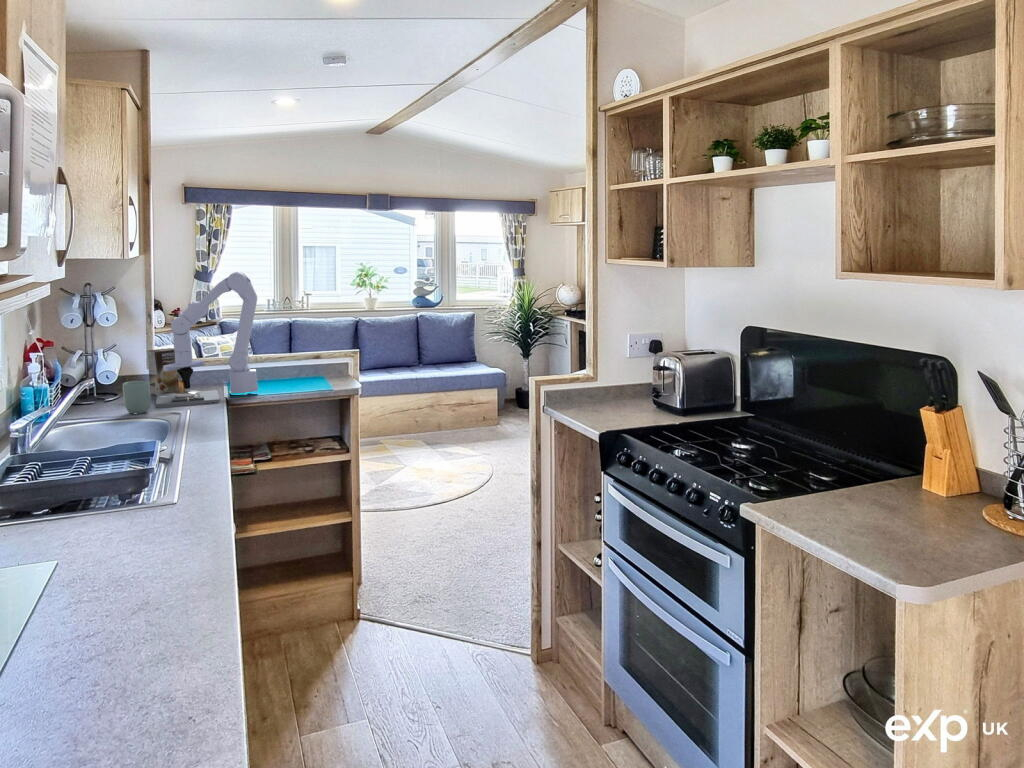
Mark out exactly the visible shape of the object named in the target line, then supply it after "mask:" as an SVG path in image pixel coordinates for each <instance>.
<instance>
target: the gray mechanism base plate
mask: <svg viewBox="0 0 1024 768" xmlns="http://www.w3.org/2000/svg"><path fill="white" fill-rule="evenodd" d="M199 391H200V390H199ZM211 402H220V403H221V399H220V396H219V392H218V389H214V390H213V389H212V390H201V391H200V396H198V395H194V397H192V398H176V397H175V393H171V394H157V395H156V401H155V408H156V409H158V408H159V409H160V408H170V407H182V406H195V405H196V406H197V405H206V404H205V403H209V404H212V403H211Z"/></svg>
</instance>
